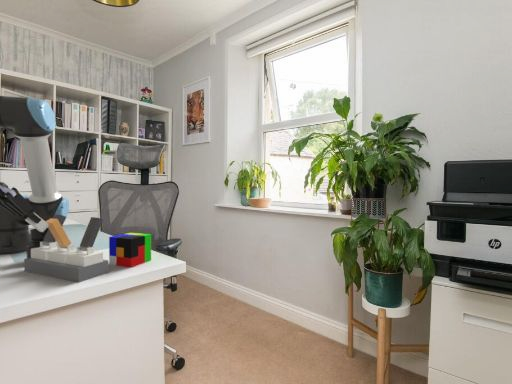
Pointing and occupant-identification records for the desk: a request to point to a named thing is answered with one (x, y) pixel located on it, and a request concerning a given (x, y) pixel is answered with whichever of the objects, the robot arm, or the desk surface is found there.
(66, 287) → the desk surface
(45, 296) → the desk surface
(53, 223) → the lever
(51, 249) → the block
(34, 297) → the desk surface
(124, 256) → the puzzle toy
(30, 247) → the ink bottle
